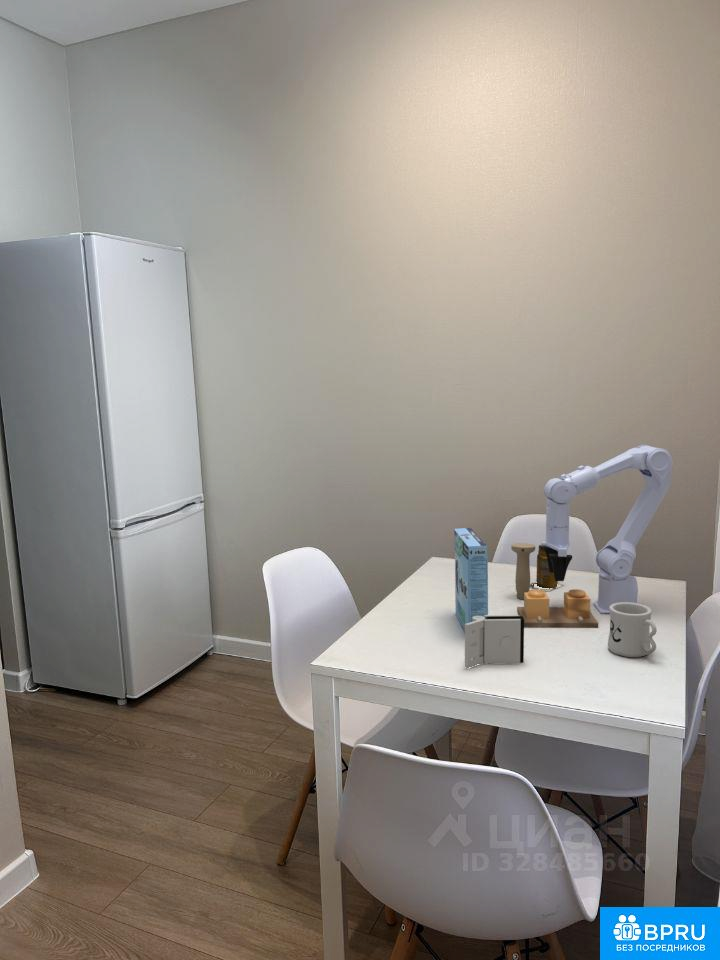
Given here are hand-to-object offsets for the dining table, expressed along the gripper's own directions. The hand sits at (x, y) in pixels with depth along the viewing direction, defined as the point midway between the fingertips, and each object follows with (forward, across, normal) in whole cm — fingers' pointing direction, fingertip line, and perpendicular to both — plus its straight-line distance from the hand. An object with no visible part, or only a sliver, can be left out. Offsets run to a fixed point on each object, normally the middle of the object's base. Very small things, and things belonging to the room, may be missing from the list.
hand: (556, 576), depth 193 cm
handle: (+10, -11, -7) cm, 16 cm away
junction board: (+9, +6, -1) cm, 11 cm away
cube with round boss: (+8, +6, -6) cm, 12 cm away
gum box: (+10, +11, -23) cm, 27 cm away
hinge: (+10, +34, -20) cm, 41 cm away
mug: (+10, +28, +12) cm, 32 cm away
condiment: (+10, -22, +1) cm, 24 cm away
